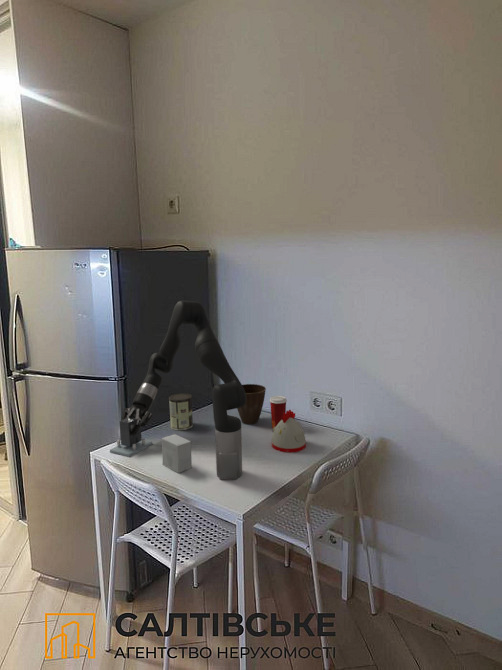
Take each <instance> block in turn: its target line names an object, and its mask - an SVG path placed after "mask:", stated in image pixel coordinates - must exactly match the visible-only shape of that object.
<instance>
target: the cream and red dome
mask: <svg viewBox="0 0 502 670" xmlns="http://www.w3.org/2000/svg"><path fill="white" fill-rule="evenodd" d="M281 418H282V420H281V421H280V422H279V423H278V425H277V426H276V427H274V428H272V433H273V434H272V436H271V447H272V448H273V449H274V450H276V451H279V452H282V453H297V452H298V453H299V452H301V451H303V450H305V448H306V447H307V442H306V436H305V431H304V430H303V428H302V426H301V424H300V423H299V422H298V421H297V419H295V418H296V413H295V412H294V411H292V410H291V409H288V410H286V413H285V412H284V413H283V416H281Z"/></svg>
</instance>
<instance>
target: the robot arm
mask: <svg viewBox="0 0 502 670" xmlns="http://www.w3.org/2000/svg"><path fill="white" fill-rule="evenodd" d="M169 321H170V322H169V323H168V324H169V325H168V328H167V332H166V335H165V337H164V339H163V341H162V344H161V346H160V348H159V351H158V352H155V353H152V354H151V356H150V358H149V362H148V368H147V369H148V370H147V373H146V375H145V376H144V379H143V381H142V384H141V385H140V387H139V389H137V392H136V394H135V397H134V398H133V400H132V405H131V406H130V407H129V408H127V407H124V408H123V410H122V415H121V418H120V421H121V420H123V419H125V418H129V417H130V416H131V417H136V419H137V420H136V423H135V425H134V427H133V429H132V431H131V434H132V435H134V436H135V434H136V433H137V432H138V429H139V427H141V428H142V427H143V428H144V427H146V425H147V424H148V422H149V421H150V420H151V418H152V417H153V414H152V413H151V412H150V411H149V410H150V409H151V407H152V405H153V403H154V401H155V398H156V396H157V393H158V391H159V389H160V386H161V383H162V382H163V377H161V375H160V374H158V373H157V372H156V371H158V372H160V373H162V374H165V375H166V374H170V373H171V371H173V369H174V363H175V356H176V355H177V352H178V350H179V348H180V346H181V343H182V339H181V338H182V337H181V334H180V327H181V326H182V325H193V326H195V328H196V330H197V331H198V332H197V337H196V339H195V344H194V350H195V353H196V355H197V358H198V360H199V362H200V364H201V365H202V366H203V367H204V368H205V369H207V370H208V371H209V372H210V373H212V374H214V375H215V376H217V377H218V378H219V379H220V380H221V381H222V382H223V383H220V384H216V385H213V387H212V392H211V402H212V412H213V414H212V415H213V421H214V427H215V428H214V431H215V432H214V433H215V435H214V437H215V465H216V467H215V468H216V469H215V470H216V476H217V477H218V478H219V480H238V478H240V477H241V476H242V475H243V449H242V448H243V445H242V440H243V438H242V421H241V418H240V417H238V416H234V415H231V414H230V415H228V411H231V410H237V408H240V407H243V406H244V405H245V404H246V393H245V390H244V388H243V386H242V385H243V384H242V382H241V380H240V379H239V377H238V376H237V375H236V373H235V372H234V370H233V368H232V367H231V365H230V363H229V362H228V360H227V357H226V355H225V353H224V351H223V349H222V347H221V344H220V343H219V340H218V339H217V337H216V336H215V332H214V330H213V329H212V327H211V325H210V321H209V319H208V316H207V313H206V311H205V308H204V306H203V305H202V302H199V301H194V300H179V301H178V302H177V303H176V304H175V306H174V308H173V311H172V314H171V318H170V320H169Z"/></svg>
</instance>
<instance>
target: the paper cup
mask: <svg viewBox="0 0 502 670" xmlns="http://www.w3.org/2000/svg"><path fill="white" fill-rule="evenodd" d="M287 402H288V400H287V397H286V396H284V395H274V396H271V397H270V399H269V403H270V404H269V405H270V415H271V417H270V418H271V427H272V429H273V428H274V427H276V426H277V425H278V423H279V422H280V421H281V420H282V418H281V416H283V413H284V412H285V413H286V411H287Z"/></svg>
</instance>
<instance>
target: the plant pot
mask: <svg viewBox="0 0 502 670" xmlns="http://www.w3.org/2000/svg"><path fill="white" fill-rule="evenodd" d="M242 386H243V388H244V390H245V393H246V404H245V405H244V406H243V407H240V408H236V410H237V411H238V415H239V419H240V420H241V423H243V424H245V425H254V424H257V423H258V422H259V419H260V415H261V414H262V410H263V406H264V402H265V397H266V389H267V388H266V387H265V386H263V385H260V384H255V383H246V384H245V383H243V384H242Z"/></svg>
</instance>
